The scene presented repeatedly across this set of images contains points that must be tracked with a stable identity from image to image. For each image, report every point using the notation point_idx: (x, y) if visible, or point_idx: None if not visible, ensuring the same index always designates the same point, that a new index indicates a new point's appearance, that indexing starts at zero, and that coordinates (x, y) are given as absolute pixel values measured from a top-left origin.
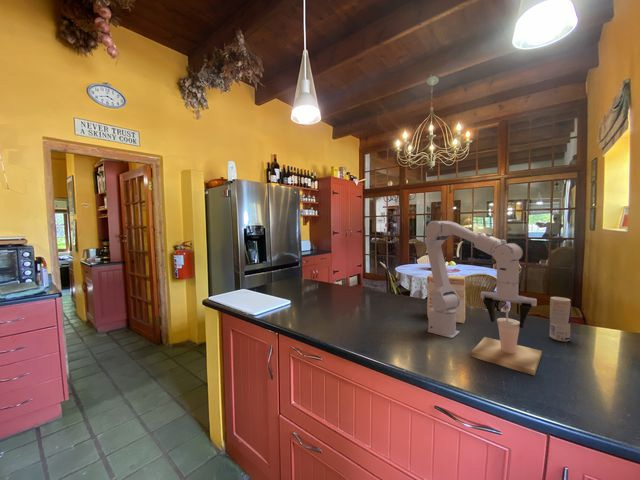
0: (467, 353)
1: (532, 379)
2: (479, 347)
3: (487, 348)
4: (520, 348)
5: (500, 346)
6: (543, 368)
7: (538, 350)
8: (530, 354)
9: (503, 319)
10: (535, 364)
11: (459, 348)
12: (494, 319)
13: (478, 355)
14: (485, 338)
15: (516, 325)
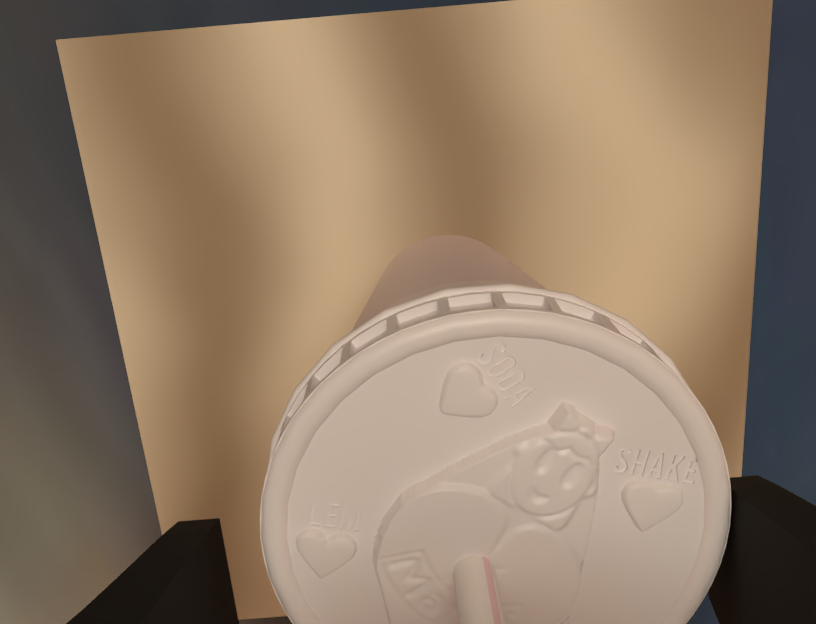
0: (138, 549)
1: (706, 617)
2: (186, 459)
3: (259, 420)
4: (544, 118)
5: (343, 246)
6: (771, 346)
7: (737, 3)
8: (668, 228)
9: (388, 538)
10: (733, 455)
11: (19, 498)
12: (216, 553)
13: (259, 609)
14: (93, 101)
15: (663, 619)
